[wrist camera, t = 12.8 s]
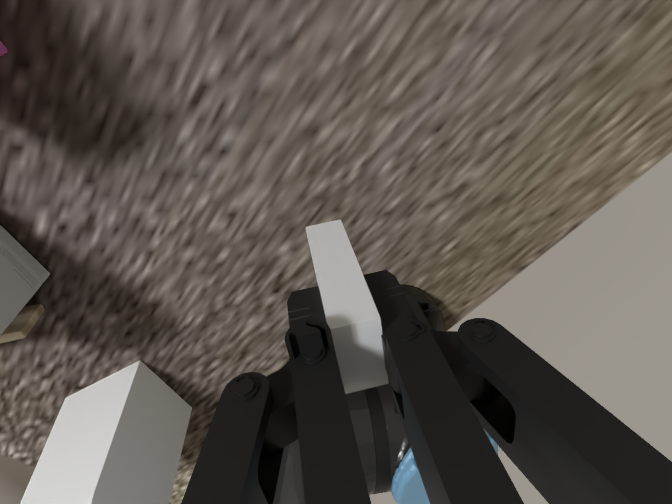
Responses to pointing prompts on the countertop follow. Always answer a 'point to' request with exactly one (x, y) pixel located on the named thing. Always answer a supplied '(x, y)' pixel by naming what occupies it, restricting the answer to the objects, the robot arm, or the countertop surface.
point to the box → (22, 323)
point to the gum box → (2, 49)
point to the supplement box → (16, 278)
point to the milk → (113, 443)
